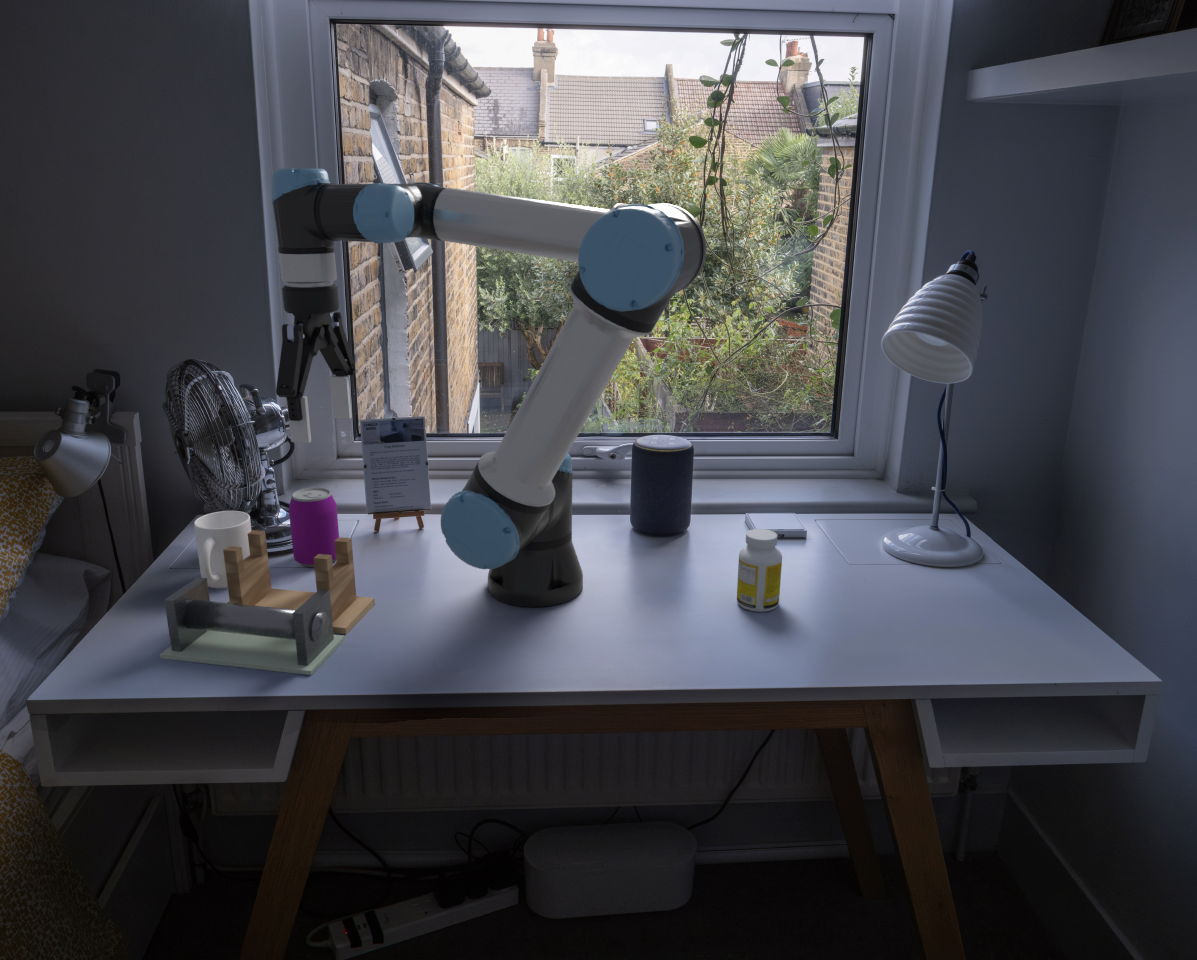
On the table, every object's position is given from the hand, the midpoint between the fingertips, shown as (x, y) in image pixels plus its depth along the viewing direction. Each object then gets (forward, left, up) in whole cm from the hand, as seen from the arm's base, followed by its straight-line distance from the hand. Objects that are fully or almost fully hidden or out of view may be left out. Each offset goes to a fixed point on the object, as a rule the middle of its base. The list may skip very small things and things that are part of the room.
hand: (322, 429), depth 137 cm
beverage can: (+9, -12, -27) cm, 31 cm away
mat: (+3, +19, -27) cm, 33 cm away
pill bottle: (-65, -10, -27) cm, 71 cm away
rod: (+3, +19, -26) cm, 32 cm away
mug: (+19, 0, -27) cm, 33 cm away
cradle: (+3, +7, -27) cm, 28 cm away
